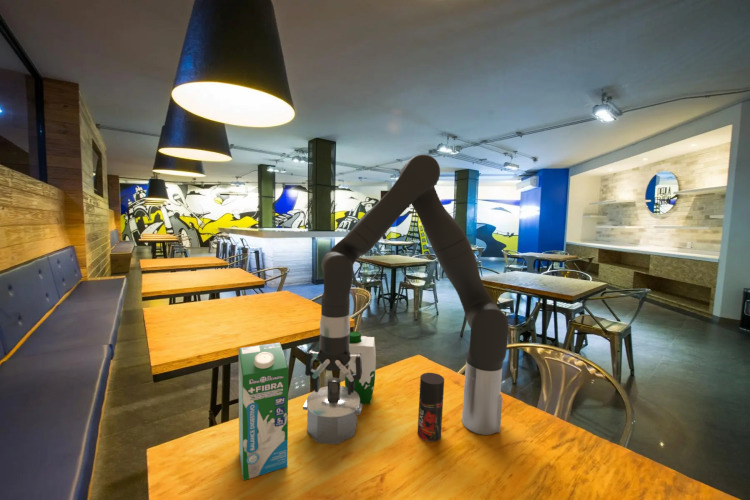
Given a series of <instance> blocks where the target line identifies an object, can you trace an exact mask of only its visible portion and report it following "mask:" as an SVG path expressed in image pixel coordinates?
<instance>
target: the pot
mask: <svg viewBox="0 0 750 500" xmlns="http://www.w3.org/2000/svg"><path fill="white" fill-rule="evenodd" d="M362 409H363V404H362V403H360V405H359V407H358V409H357V410H356V411H355V412H353V413H352V414H350V415H348V416H345V417H341V418H322V417H319V416H316V415H314V414H312V413H311V412H310V411H309V410H308V408H307V399H306V400H305V402H304V404H303V406H302V410H305V411H307V414H306V415H307V417H306V419H307V421H306V422H307V423H306V432H307V433H308V435H310V437H311V438H312V439H314V441H315V442H316V443H320V444H329V445H339V444H341V443H343V442H345V441H347V440H349V439H351V438H353V437H354V436H355V433H356V428H357V425H358V415H359V416H360V415H361V413H362Z"/></svg>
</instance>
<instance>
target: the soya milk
mask: <svg viewBox="0 0 750 500" xmlns="http://www.w3.org/2000/svg"><path fill="white" fill-rule="evenodd" d="M349 352H350V354H351V355H357V354H358V353H361V355H362V376H361V379H360V380H355V387H354V391H356V392H357V393H358V395H359V397H360V403H362V405H371V403H372V399H373V394H374V393H373V392H374V389H375V383H376V363H377V361H376V359H377V357H376V353H377V352H376V342H375V336H365V335H362V333H360V332H359V331H350V342H349ZM348 364H349V365H350V367H351V369H352V371H353V372H354V373H356V364H354V363H353V361H352V360H350V361H349V362H348ZM348 381H349V379H348V378H347V377H346V375H344V387H348Z"/></svg>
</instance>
